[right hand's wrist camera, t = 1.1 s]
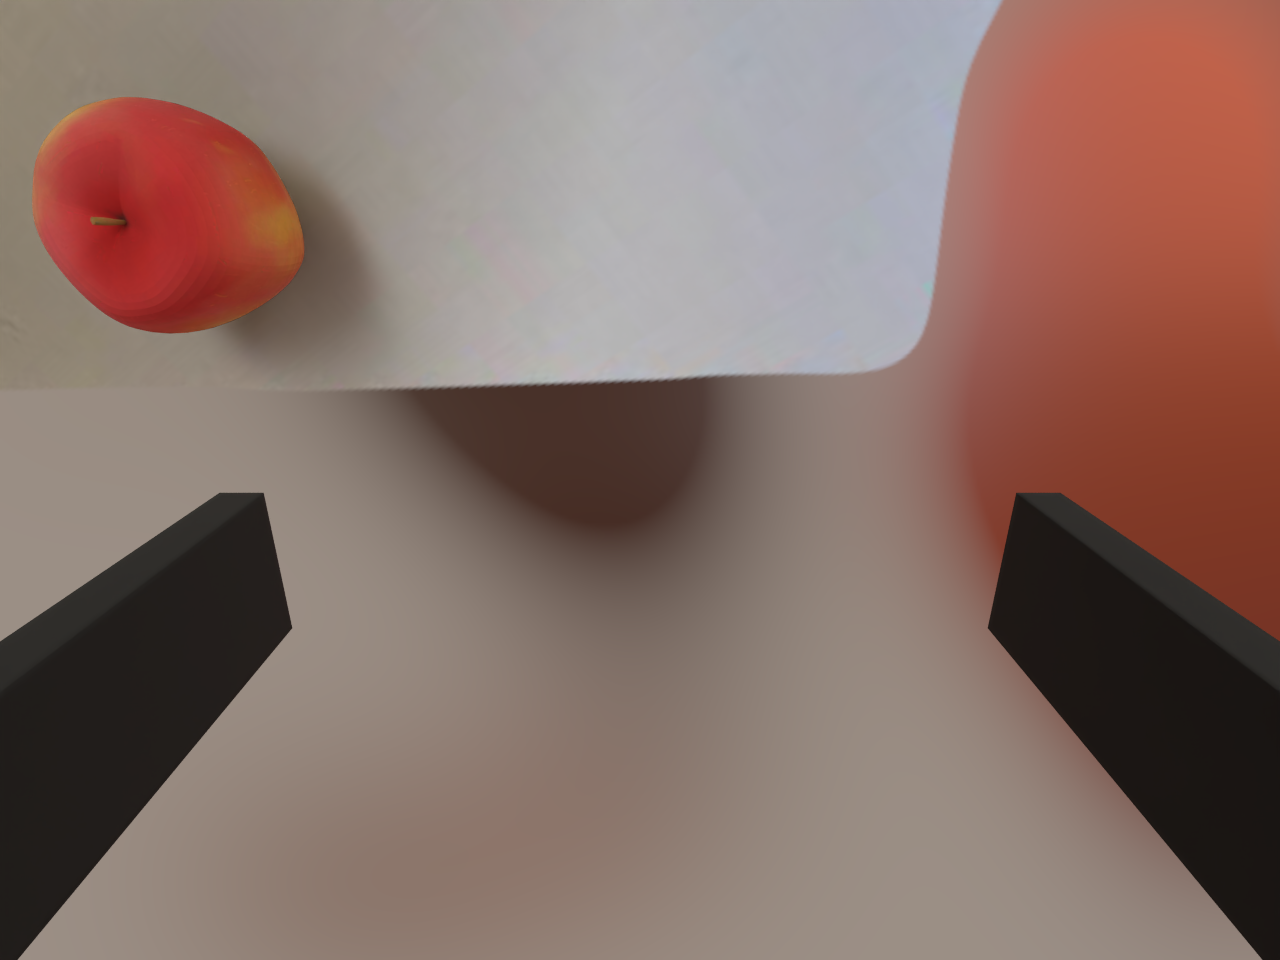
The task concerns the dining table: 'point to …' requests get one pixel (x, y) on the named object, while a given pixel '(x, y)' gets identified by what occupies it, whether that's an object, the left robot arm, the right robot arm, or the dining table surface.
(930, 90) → the dining table surface
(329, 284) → the dining table surface
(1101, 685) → the right robot arm
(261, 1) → the dining table surface
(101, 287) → the apple
